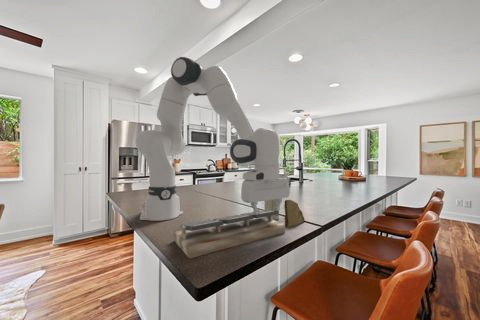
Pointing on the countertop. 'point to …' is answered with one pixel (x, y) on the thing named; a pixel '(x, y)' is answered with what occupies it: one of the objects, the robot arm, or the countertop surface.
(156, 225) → the countertop surface
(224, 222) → the panel
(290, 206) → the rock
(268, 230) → the switch panel
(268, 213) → the rocker
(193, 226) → the panel
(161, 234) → the countertop surface
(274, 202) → the skincare box
